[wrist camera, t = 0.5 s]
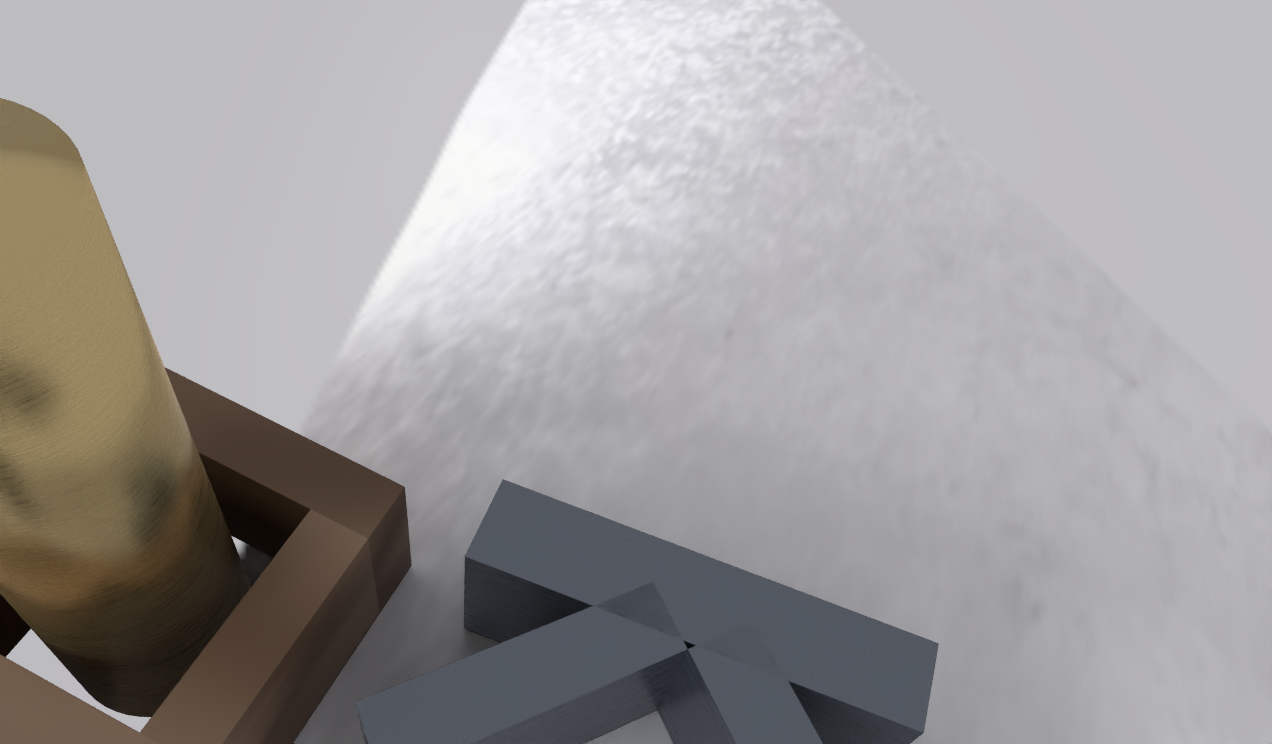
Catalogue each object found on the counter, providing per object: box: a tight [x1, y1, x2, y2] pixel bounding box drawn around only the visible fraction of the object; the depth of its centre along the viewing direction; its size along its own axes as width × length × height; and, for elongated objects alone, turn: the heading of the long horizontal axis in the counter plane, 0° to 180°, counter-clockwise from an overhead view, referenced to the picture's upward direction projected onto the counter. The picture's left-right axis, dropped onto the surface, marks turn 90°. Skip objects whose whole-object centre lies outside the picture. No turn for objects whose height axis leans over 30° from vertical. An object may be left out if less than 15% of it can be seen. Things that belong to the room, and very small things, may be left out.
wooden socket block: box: [0, 368, 411, 744], centre depth 21 cm, size 14×8×4 cm, turn 155°
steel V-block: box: [355, 480, 938, 744], centre depth 22 cm, size 7×11×4 cm, turn 71°
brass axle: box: [0, 98, 251, 717], centre depth 18 cm, size 4×4×14 cm
